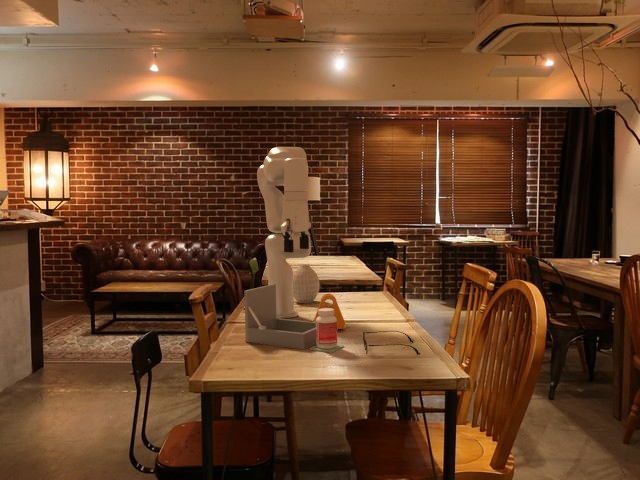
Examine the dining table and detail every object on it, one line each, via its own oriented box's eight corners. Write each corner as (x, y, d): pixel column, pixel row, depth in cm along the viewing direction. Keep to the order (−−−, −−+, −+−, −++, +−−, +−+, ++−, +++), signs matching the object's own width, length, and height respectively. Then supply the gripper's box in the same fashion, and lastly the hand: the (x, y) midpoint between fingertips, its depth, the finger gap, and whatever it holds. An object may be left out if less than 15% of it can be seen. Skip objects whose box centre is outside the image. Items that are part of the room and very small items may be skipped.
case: (245, 342, 167) (244, 290, 166) (274, 331, 181) (273, 284, 180) (303, 349, 157) (302, 295, 156) (329, 337, 171) (328, 287, 170)
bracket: (344, 326, 187) (343, 292, 186) (345, 331, 180) (344, 295, 179) (313, 327, 187) (312, 292, 186) (313, 331, 180) (312, 296, 179)
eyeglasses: (361, 342, 165) (361, 330, 165) (413, 342, 165) (413, 329, 165) (364, 357, 149) (364, 343, 149) (421, 357, 148) (421, 342, 148)
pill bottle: (341, 347, 157) (340, 309, 156) (323, 350, 154) (323, 312, 153) (329, 343, 162) (329, 306, 162) (312, 346, 159) (311, 309, 158)
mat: (309, 349, 156) (309, 348, 156) (321, 344, 163) (321, 342, 163) (332, 352, 153) (332, 351, 153) (344, 346, 159) (344, 345, 159)
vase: (302, 298, 245) (301, 262, 244) (325, 301, 238) (324, 263, 237) (284, 303, 235) (283, 265, 234) (308, 305, 228) (307, 266, 227)
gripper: (299, 196, 181) (300, 247, 182) (271, 197, 165) (272, 252, 167) (319, 196, 177) (319, 248, 179) (292, 197, 162) (292, 254, 164)
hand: (296, 250), depth 173 cm, fingers open, 9 cm apart
